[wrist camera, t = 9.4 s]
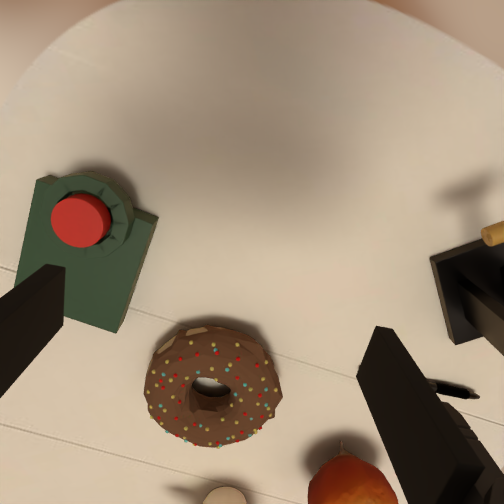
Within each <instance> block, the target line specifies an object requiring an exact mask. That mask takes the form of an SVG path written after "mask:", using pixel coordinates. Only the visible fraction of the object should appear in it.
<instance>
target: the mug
mask: <svg viewBox="0 0 504 504" xmlns="http://www.w3.org/2000/svg"><path fill="white" fill-rule="evenodd" d="M203 504H247V502H246V500H245V497H244V495H243V494H242V493H241V492H240V491H239V490H237V489H235V488H232V487H220V488H216V489H214V490H212V491H211V492H210V493H209V494H208V495H207V497H206V499H205V501H204V502H203Z"/></svg>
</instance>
